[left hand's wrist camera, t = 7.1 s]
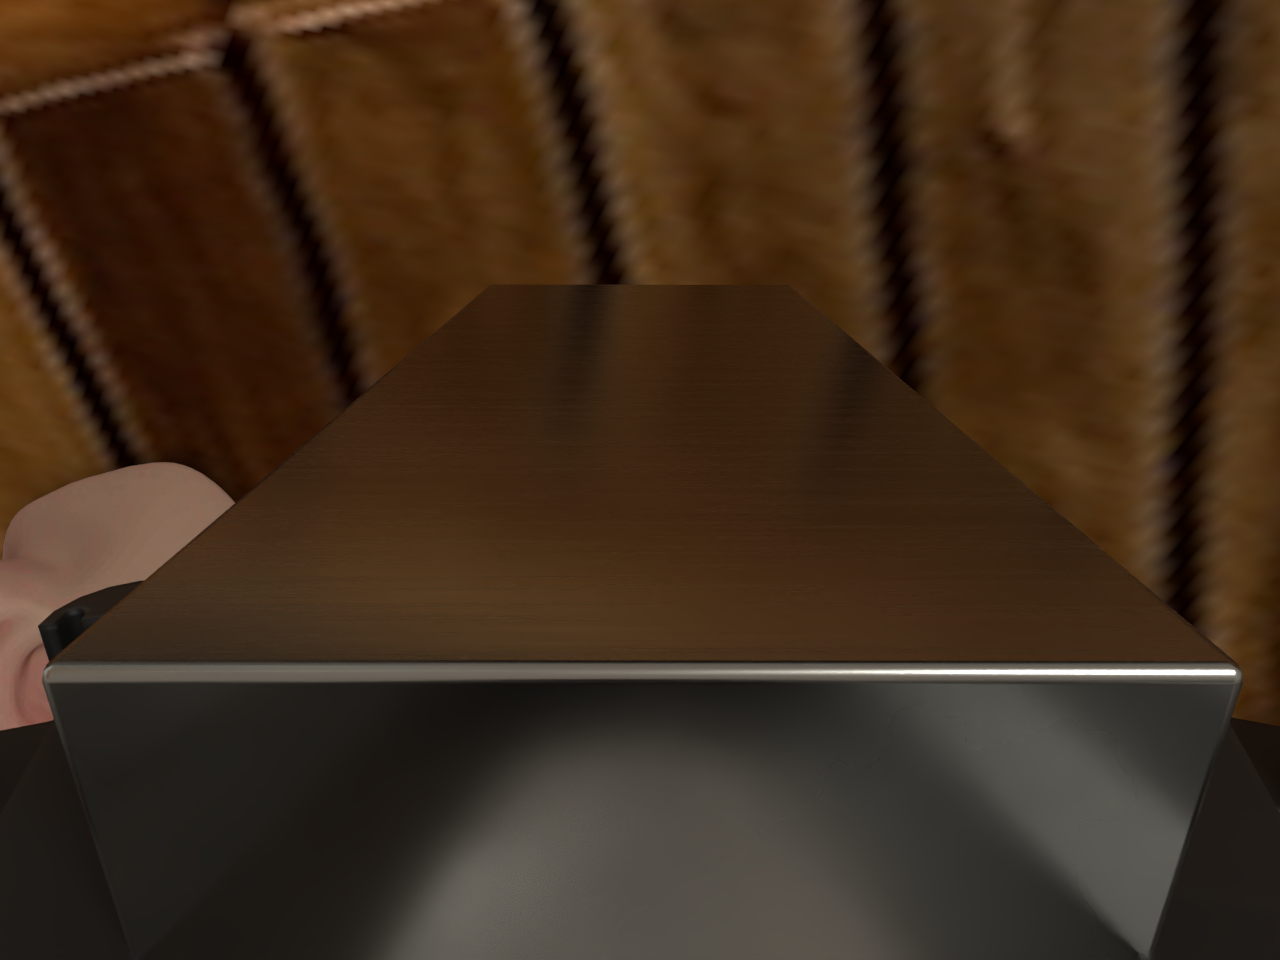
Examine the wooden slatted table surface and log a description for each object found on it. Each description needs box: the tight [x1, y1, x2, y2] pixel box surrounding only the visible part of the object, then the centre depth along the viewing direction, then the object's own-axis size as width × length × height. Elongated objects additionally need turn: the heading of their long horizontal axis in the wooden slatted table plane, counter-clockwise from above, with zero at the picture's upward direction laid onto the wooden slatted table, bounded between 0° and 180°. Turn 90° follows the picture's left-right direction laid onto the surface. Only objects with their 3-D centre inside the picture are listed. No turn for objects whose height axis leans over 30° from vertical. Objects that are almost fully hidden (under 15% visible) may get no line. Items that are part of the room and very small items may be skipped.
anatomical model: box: [0, 462, 235, 731], centre depth 27 cm, size 13×4×12 cm
